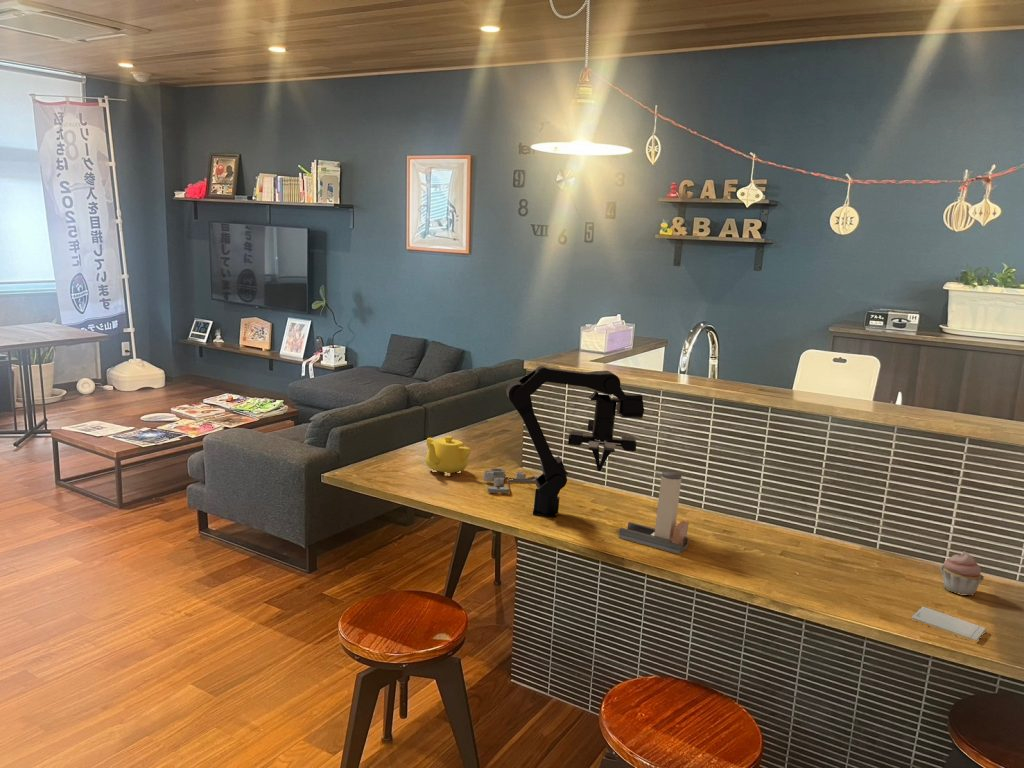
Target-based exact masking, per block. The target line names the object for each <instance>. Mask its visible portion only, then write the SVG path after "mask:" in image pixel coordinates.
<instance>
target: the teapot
mask: <svg viewBox="0 0 1024 768" xmlns="http://www.w3.org/2000/svg"><path fill="white" fill-rule="evenodd" d="M426 446H427V448H428V451H427V453H426V456H425V463H426V465H427V467H428V468H429V469H433V470H436V471H437V472H441V473H444V472H447V473H451V474H452V473H455V472H459V471H462V472H463V470H465V469H466V468H467V467H468V464H469V456H470V454H471V449H470V447H467V446H465V445H464V442H462V441H461V440H459V439H454V438H453V436H451V435H445V436H444V437H443V438H438V439H435V438H432V437H427V439H426Z"/></svg>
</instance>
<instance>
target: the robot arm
mask: <svg viewBox="0 0 1024 768" xmlns="http://www.w3.org/2000/svg"><path fill="white" fill-rule="evenodd" d="M545 383H551V384H552V383H553V384H561V385H568V386H576V387H584V388H588V389H591V390H593V391H594V392H593V393H592V394H590V395H589V396H588V398H589V400H591V401H594V402H595V407H594V415H593V416H594V417H593V419H588V422H587V430H586V431H587V432H591V436H590V435H589V436H588V435H584V432H582V431H574V430H571V431H570V432H569V433H568V443H567V444H568V445H571V446H578V447H580V446H581V445H582V444H583V443H585V444H587V445H588V446H587V449H588V450H589V451H592V452H591V453H592V454H593V457H594V459H595V460H594V461H595V465H596V470H597V472H601V470H602V469H603V467H604V465H605V463H606V461H607V459H608V457H609V456H610V454H611V453H615V451H616V447H621V448H622V449H623V450H624V451H627V452H636V451H637V440H636V438H635V437H631V436H621V439H619V438H614V429H615V422H616V421H615V420H616V414H617V415H619V416H620V418H623V419H624V418H625V419H636V420H638V419H639V420H641V419H642V418H643V417H644V413H645V408H644V400H643V397H644V396H643V395H642V394H641V393H640V394H638V393H635V394H629V393H625V392H624V390H623V389H622V387H621V379H620V378H619V376H618V375H617V374H615V373H613V372H612V371H610V370H595V371H587V372H586V371H578V370H577V371H576V370H572V369H571V370H570V369H563V368H562V369H561V368H554V367H553V368H552V367H547V366H545V365H539V366H538V367H536V368H535V369H534V370H533V371H531V372H529V373H528V374H526V375H524V376H523V377H522V378H520V379H518V380H514V381H511V382H510V383H509V384H508V385H507V387H506V390H505V391H506V396H507V397H508V399H509V401H510V403H511V405H513V407H514V409H515V410H516V411H517V413H518V414H519V416H520V417H521V419H522V421H523V422H522V423H524V425H525V428H526V430H527V432H528V435H529V437H530V440H531V442H532V444H533V446H534V449H535V451H536V453H537V456H538V457H539V462H540V468H541V472H542V474H540V476H539V477H538V478H537V479H534V480H535V482H536V483H535V485H536V488H535V491H534V503H533V509H532V515H535V516H542V517H550V518H556V517H557V514H558V513H559V509H560V508H559V507H560V498H561V497H560V496H559V493H560V492H561V490H562V489H563V488H565V486H566V485H567V482H568V475H569V473H568V471H567V470H566V468H565V466H564V462H563V460H562V459H561V457H560V456H559V455H558V456H556V457H555V456H554V455H553V453H552V450H551V448H550V446H549V444H548V441H547V440H546V438H545V435H544V433H543V430H542V428H541V426H540V423H539V421H538V419H537V416H536V414H535V412H534V407H533V401H532V398H531V395H533V394H535V393H536V391H538V389H539V388H540V387H542V386H543V385H544V384H545ZM599 393H602V394H599ZM611 395H613V396H614V397H611ZM615 397H616V398H615ZM600 445H603V449H602V454H601V457H600Z"/></svg>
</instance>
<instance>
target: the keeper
mask: <svg viewBox="0 0 1024 768" xmlns="http://www.w3.org/2000/svg"><path fill="white" fill-rule="evenodd" d="M661 473H662V474H661V476H660V483H659V493H658V502H657V509H656V510H657V511H656V519H655V527H654V528H655V532H654V533H652V534H651V536H655V537H659V538H662V539H666V540H670V541H672V540H673V532H674V527H675V526H677V517H678V508H679V503H680V502H679V501H680V494H681V493H680V491H681V484H682V472H679V471H676V470H672V469H671V470H669V469H666V470H662V472H661Z"/></svg>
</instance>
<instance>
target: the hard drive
mask: <svg viewBox="0 0 1024 768" xmlns="http://www.w3.org/2000/svg"><path fill="white" fill-rule="evenodd" d="M911 619H913V620H916V621H919V622H922V623H925V624H929V625H931V626H934V627H937V628H939V629H942V630H945V631H949V632H952V633H954V634H957V635H960V636H963V637H966V638H970V639H973V640H975V641H977V640H978V639H979V638H980V637H981V635H982V634H983V633H984V632H985V630H986V631H987V627H983V626H980V625H977V624H974V623H972V622H969V621H966V620H963V619H961V618H958V617H954V616H951V615H948V614H945V613H943V612H940V611H937V610H934V609H931V608H928V607H925V606H921V608H919V609H918V610H917V611H916V612H915V613H914V614H913V615H912V616H911ZM911 619H910V620H911ZM985 633H986V632H985ZM981 638H982V637H981Z"/></svg>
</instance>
